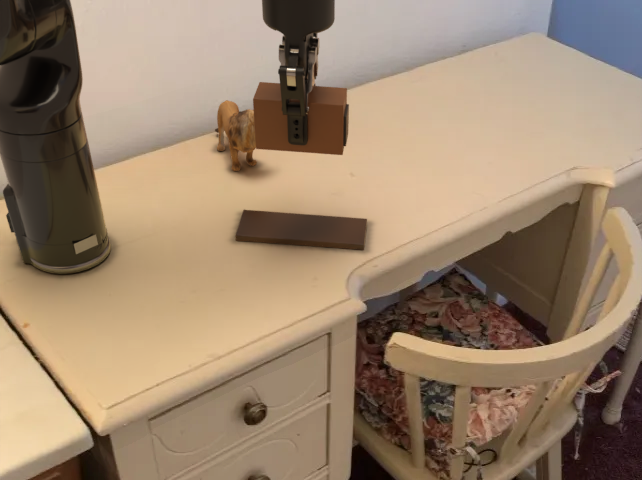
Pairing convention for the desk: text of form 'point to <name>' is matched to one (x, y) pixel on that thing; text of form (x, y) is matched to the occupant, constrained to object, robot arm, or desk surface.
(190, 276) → the desk surface
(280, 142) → the brown cardboard box
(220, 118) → the lion figurine
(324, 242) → the walnut board
